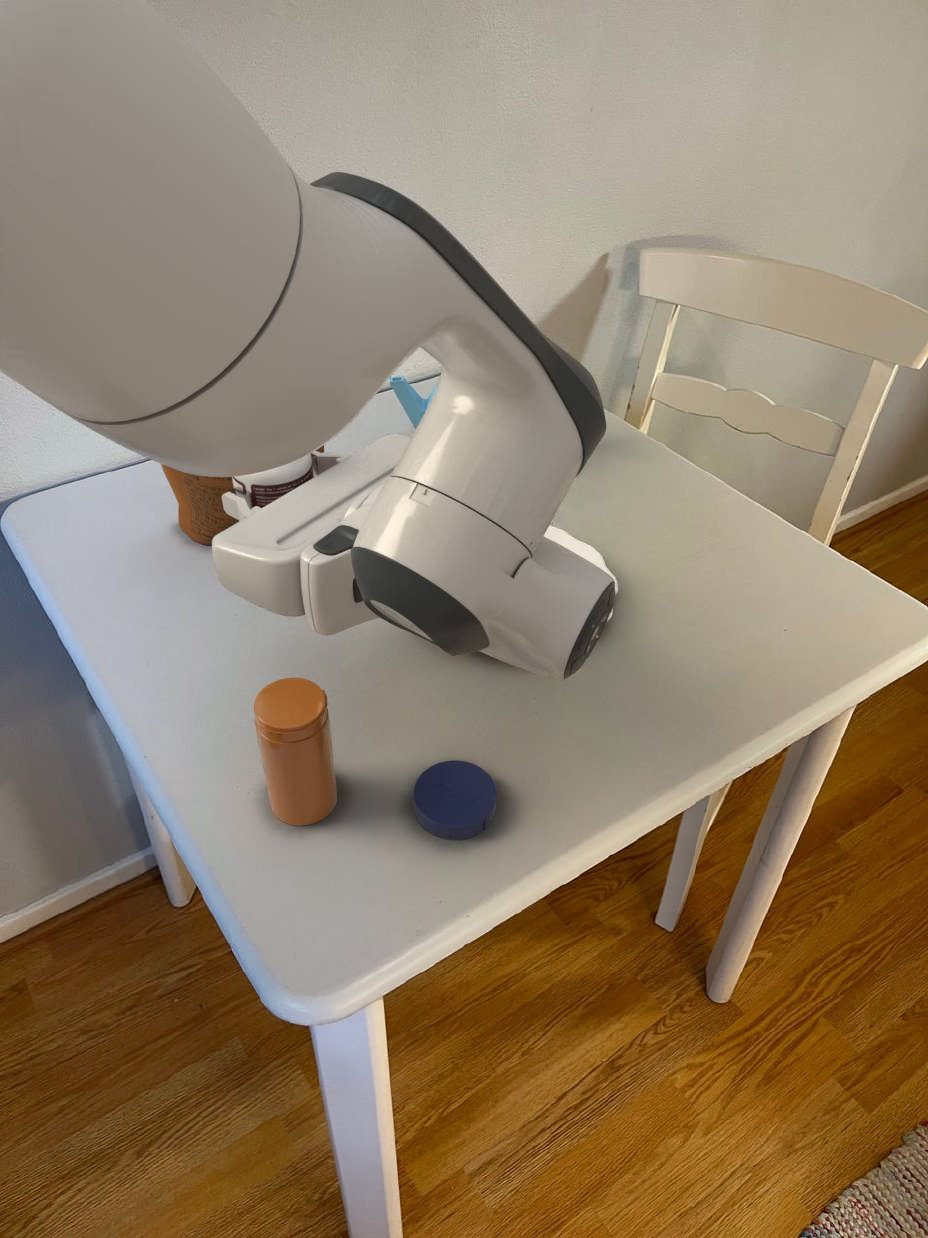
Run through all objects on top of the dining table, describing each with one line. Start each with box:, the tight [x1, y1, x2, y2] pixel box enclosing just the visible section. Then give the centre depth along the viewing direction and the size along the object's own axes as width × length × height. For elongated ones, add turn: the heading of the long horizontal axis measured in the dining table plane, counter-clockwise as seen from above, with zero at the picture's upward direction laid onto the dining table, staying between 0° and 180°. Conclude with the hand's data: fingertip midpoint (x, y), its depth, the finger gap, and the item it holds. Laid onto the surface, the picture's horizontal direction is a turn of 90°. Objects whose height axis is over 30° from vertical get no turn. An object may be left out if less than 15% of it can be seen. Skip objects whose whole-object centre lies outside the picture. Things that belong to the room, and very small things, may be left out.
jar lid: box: [413, 759, 498, 841], centre depth 67 cm, size 6×6×2 cm
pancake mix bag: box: [159, 445, 325, 547], centre depth 83 cm, size 7×19×28 cm, turn 84°
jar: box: [253, 677, 338, 827], centre depth 64 cm, size 5×5×10 cm
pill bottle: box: [232, 453, 314, 508], centre depth 70 cm, size 6×6×11 cm
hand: (265, 478), depth 70 cm, fingers closed on pill bottle, 6 cm apart
